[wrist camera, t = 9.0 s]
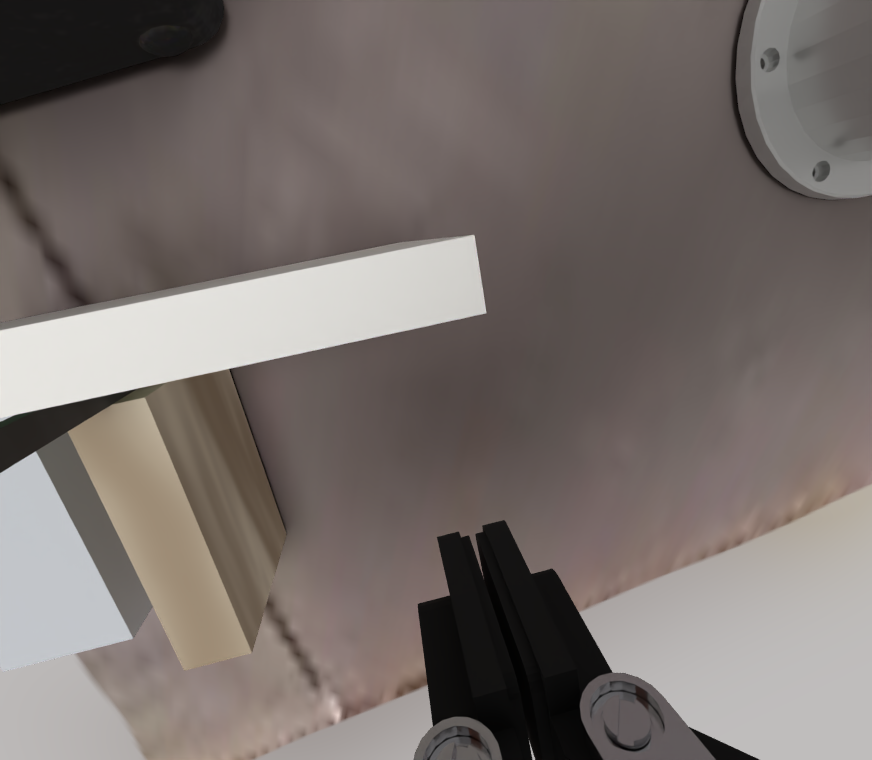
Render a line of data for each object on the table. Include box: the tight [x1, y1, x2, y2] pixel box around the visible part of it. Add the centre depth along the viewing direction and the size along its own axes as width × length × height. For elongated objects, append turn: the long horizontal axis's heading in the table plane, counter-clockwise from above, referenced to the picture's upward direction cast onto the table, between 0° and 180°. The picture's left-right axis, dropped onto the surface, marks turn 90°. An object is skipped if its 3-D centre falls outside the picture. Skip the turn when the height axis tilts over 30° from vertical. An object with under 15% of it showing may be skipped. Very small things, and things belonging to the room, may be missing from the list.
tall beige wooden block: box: [0, 369, 287, 671], centre depth 15 cm, size 2×11×14 cm, turn 11°
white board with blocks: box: [0, 235, 486, 672], centre depth 14 cm, size 19×13×15 cm
